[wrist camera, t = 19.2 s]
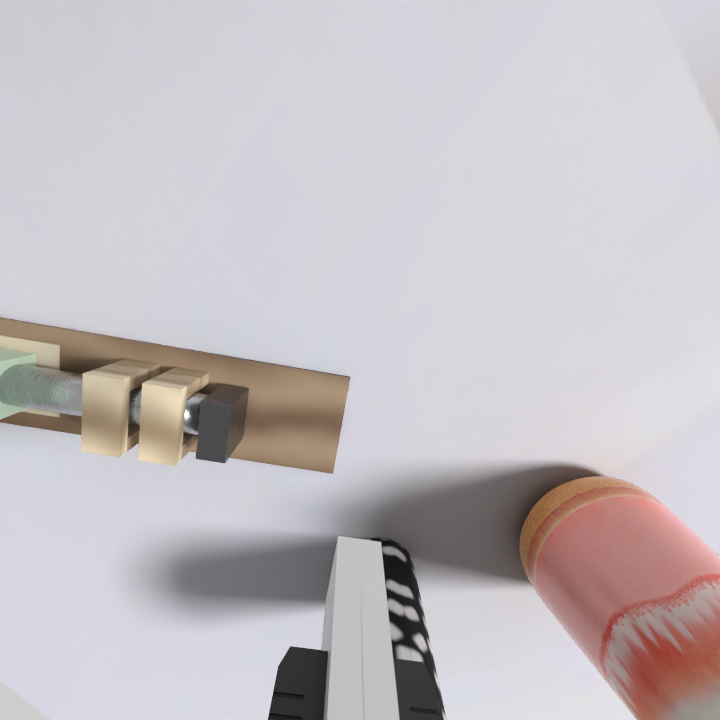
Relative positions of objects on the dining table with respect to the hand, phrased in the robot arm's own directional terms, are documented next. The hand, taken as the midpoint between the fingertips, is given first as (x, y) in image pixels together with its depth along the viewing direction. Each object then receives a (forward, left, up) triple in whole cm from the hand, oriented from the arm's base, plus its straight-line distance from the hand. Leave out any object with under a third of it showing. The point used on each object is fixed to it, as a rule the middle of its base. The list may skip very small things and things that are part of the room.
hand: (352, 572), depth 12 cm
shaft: (+4, -19, -22) cm, 29 cm away
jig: (+4, -20, -22) cm, 30 cm away
